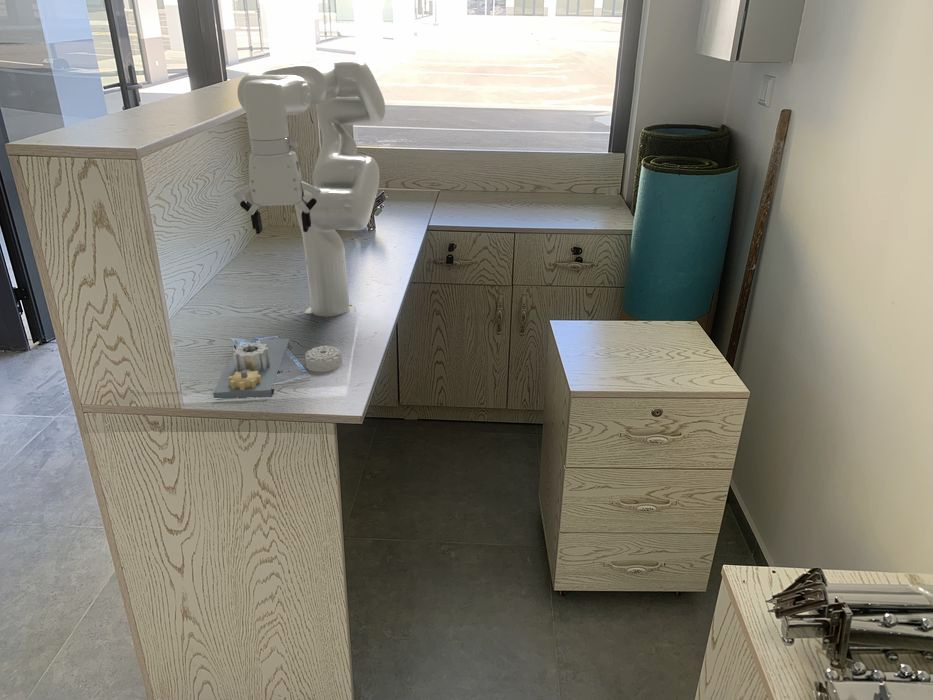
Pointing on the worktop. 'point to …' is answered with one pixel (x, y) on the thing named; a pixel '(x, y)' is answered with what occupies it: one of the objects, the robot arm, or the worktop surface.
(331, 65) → the robot arm
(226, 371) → the gear board
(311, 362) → the mechanical component
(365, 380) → the worktop surface
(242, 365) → the steel gear
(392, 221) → the worktop surface
